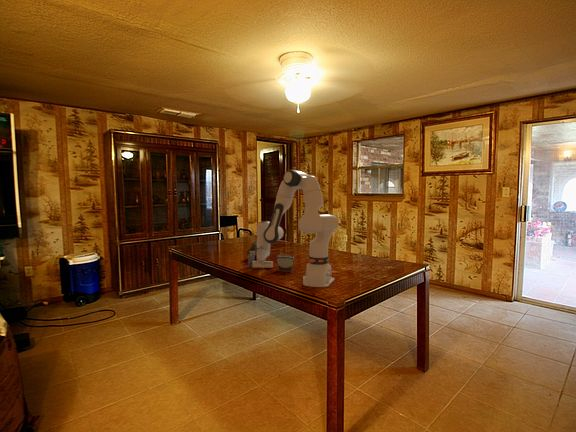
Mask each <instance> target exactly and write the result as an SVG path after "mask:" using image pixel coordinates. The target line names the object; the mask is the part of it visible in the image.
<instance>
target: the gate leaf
mask: <svg viewBox="0 0 576 432" xmlns="http://www.w3.org/2000/svg"><path fill="white" fill-rule="evenodd" d="M273 267H274V261H269V260H267V261H265V265H262V261H257V260H255V261H253V263H252V268H271V269H272V268H273Z"/></svg>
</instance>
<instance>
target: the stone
mask: <svg viewBox="0 0 576 432" xmlns="http://www.w3.org/2000/svg"><path fill="white" fill-rule="evenodd" d="M258 249H259V248H257V240H255V241H254V242H253V243H252V244H251V246H250V248H249V249H248V250H247V252H246V254H247V255H249V254H250V251H255V252H254V253H255V259H257V250H258Z"/></svg>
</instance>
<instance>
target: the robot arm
mask: <svg viewBox="0 0 576 432" xmlns="http://www.w3.org/2000/svg"><path fill="white" fill-rule="evenodd" d="M282 179H283V180H282V181H281V182H280V185H279V188H278V191H277V193H276V199H275V202H274V207H273V211H272V213H271V217H270V220H264V221H260V222H258V223H257V226H256V237H257V238H256V241H257V248H259V249H258V250H257V258H256V261H262V265H265V261H266V260H267V258H268V257H270V255H271V246H272V244H275V243H277V242H278V241H279V240H281V239H282V238H283V237H284V234H285V233H284V232H285V231H284V229H283V228H282V227H281V226H280V225H281V224H280V223H281V221H282V217H283V215H284V214H285V213H286V211H287V210H289V209H290V208H291V206H292V204H293V201H294V197H295V193H296V191H297V190H299V191H302V193H303V198H304V206H305V208H304V213H303V214H302V216H301V217H300V218H299V220H298V224H297V226H298V229H299V230H300V232H301V233H303V234H308V235H311V234H316V235H315V237H314V238H313V239H312V240H311V241H310V242H309V250H308V251H309V252H308V253H309V255H308V258H307V259H308V263H307V264H306V271H305V273H304V276H302V285H303V286H306V287H312V288H327V287H329V286H330V285H331V284H332V283H333V282H334V281H335V278H334V277H332V266H331V264H330V263H329V262H330V261H329V259H330V258H329V257H330V256H329V244H330V241H331V237H332V236H333V234H334V232H336V231H337V229H338V228H339V225H340V223H339V218H338V217H337V216H336V215H333V214H328V213H327V214H319V210H320V209H321V208H322V207H323V206H324V197H323V194H322V189H321V186H320V183H319V180H318V178H317V177H316V176H314V175H311V174H309V173H306V172H303V171H301V170H295V169H289V170H286V171H285V172H284V174H283V178H282Z"/></svg>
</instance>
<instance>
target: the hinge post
mask: <svg viewBox="0 0 576 432" xmlns="http://www.w3.org/2000/svg"><path fill="white" fill-rule="evenodd" d="M247 255H248V254H247ZM247 257H248V258H247V259H248V263H247V264H248V267H247V268H248V269H250V268H251V269H252V268H253V263H252V255H251V254H249V255H248V256H247Z"/></svg>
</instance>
